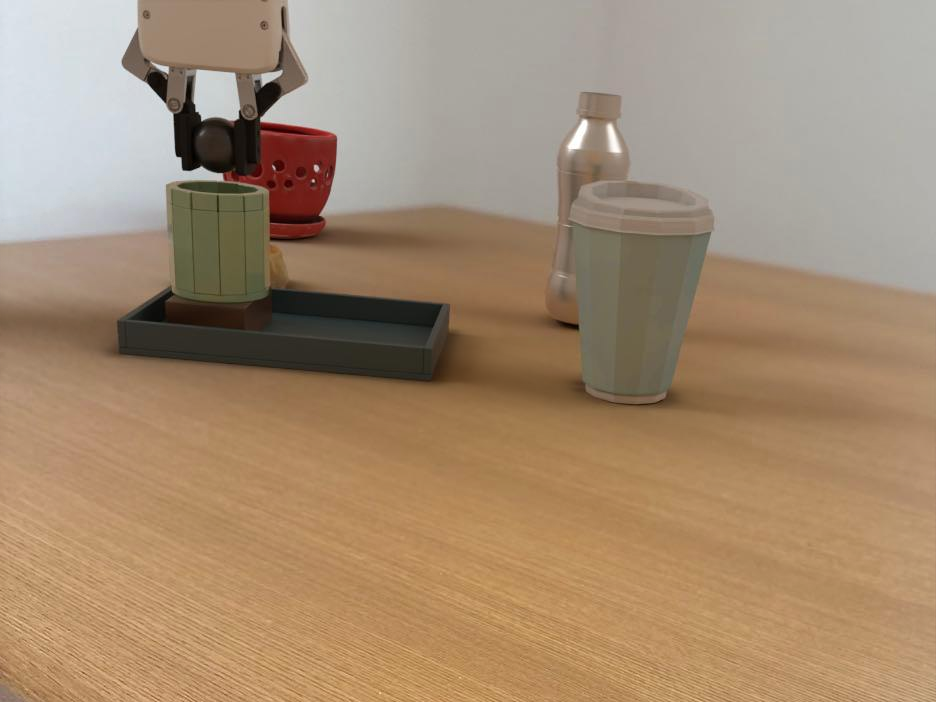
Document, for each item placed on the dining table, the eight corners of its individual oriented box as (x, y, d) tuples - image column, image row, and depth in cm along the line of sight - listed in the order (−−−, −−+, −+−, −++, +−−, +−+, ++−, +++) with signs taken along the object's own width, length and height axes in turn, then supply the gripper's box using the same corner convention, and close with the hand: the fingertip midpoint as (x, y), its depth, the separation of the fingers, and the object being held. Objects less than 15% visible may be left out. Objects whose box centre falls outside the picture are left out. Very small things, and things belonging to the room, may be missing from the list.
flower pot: (279, 247, 125) (279, 133, 120) (197, 228, 132) (193, 119, 127) (358, 237, 136) (360, 131, 131) (279, 219, 142) (278, 118, 137)
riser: (166, 339, 86) (164, 300, 85) (200, 313, 95) (199, 277, 93) (245, 346, 87) (244, 308, 85) (272, 319, 95) (272, 283, 94)
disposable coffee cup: (709, 417, 82) (741, 205, 76) (564, 412, 80) (586, 195, 74) (670, 374, 92) (696, 183, 86) (540, 369, 90) (557, 173, 84)
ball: (184, 173, 84) (182, 116, 82) (200, 167, 88) (198, 113, 86) (238, 178, 84) (237, 121, 82) (252, 172, 88) (250, 117, 86)
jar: (159, 297, 86) (153, 189, 83) (188, 278, 93) (183, 177, 89) (256, 306, 86) (254, 198, 83) (278, 286, 93) (277, 185, 90)
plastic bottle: (601, 336, 101) (628, 99, 93) (531, 324, 103) (551, 90, 95) (622, 322, 107) (648, 97, 99) (555, 311, 109) (575, 89, 101)
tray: (118, 353, 84) (116, 320, 83) (181, 307, 98) (179, 278, 97) (430, 381, 84) (432, 349, 83) (448, 332, 98) (450, 303, 97)
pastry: (194, 295, 102) (192, 252, 101) (174, 279, 107) (172, 238, 106) (294, 291, 107) (293, 250, 105) (270, 276, 112) (269, 237, 110)
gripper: (338, -89, 82) (336, 175, 89) (109, -110, 81) (127, 156, 89) (318, -100, 75) (318, 187, 82) (68, -123, 75) (91, 167, 82)
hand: (218, 168), depth 86 cm, fingers closed on ball, 3 cm apart
